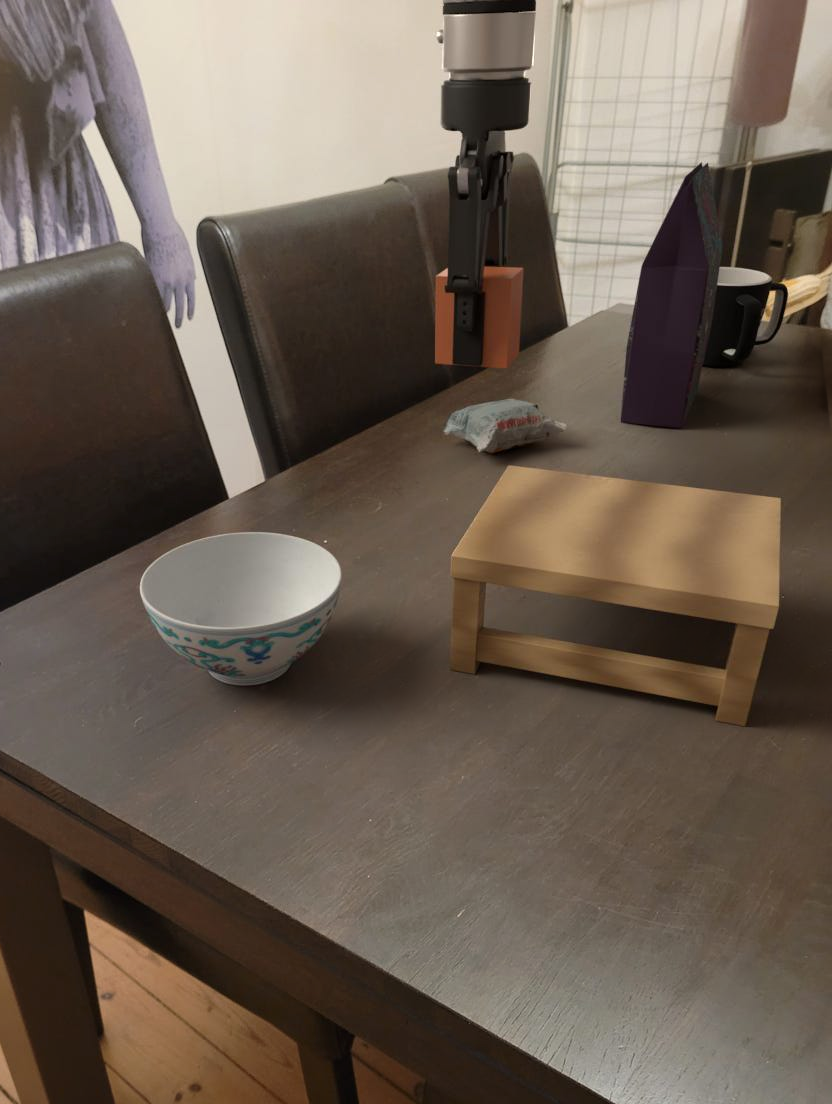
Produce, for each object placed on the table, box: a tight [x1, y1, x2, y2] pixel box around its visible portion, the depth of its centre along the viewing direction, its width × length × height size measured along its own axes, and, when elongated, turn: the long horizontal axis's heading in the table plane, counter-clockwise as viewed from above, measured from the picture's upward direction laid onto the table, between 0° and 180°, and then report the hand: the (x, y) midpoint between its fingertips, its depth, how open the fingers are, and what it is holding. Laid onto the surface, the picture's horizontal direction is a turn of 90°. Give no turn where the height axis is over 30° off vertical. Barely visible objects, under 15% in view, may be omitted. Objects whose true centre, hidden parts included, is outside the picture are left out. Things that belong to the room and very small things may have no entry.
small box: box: [434, 266, 525, 370], centre depth 90 cm, size 7×5×8 cm
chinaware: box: [139, 531, 343, 686], centre depth 73 cm, size 15×15×8 cm
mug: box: [703, 266, 789, 367], centre depth 139 cm, size 16×16×12 cm
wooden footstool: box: [449, 465, 782, 727], centre depth 75 cm, size 22×18×10 cm
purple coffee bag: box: [620, 162, 723, 430], centre depth 117 cm, size 8×16×28 cm, turn 156°
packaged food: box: [443, 398, 567, 454], centre depth 113 cm, size 9×12×5 cm
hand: (475, 355), depth 92 cm, fingers closed on small box, 5 cm apart
